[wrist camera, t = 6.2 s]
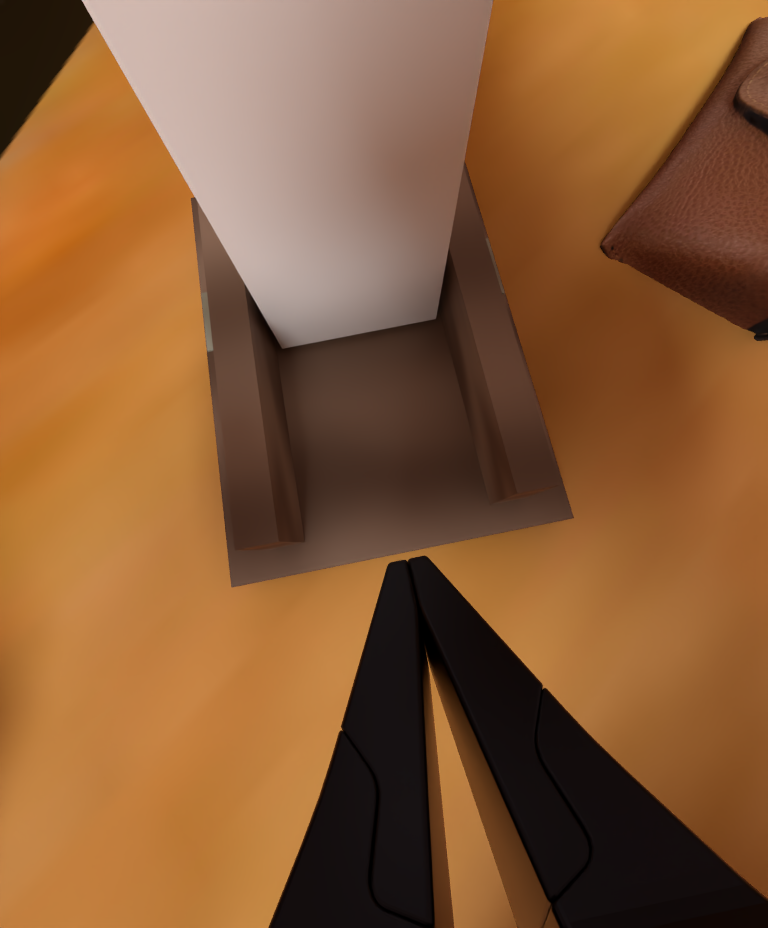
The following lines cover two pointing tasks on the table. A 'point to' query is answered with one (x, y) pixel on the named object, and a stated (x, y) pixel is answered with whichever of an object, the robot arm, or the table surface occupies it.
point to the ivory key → (315, 142)
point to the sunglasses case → (712, 200)
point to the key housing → (374, 422)
